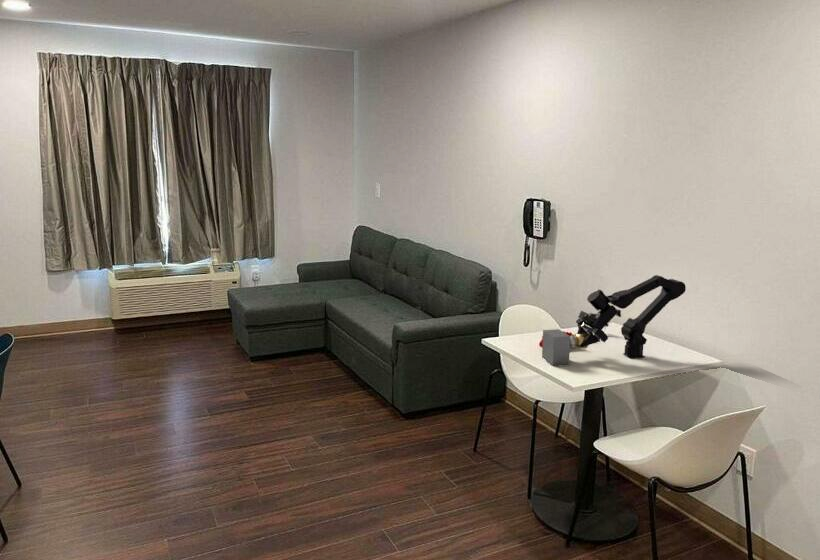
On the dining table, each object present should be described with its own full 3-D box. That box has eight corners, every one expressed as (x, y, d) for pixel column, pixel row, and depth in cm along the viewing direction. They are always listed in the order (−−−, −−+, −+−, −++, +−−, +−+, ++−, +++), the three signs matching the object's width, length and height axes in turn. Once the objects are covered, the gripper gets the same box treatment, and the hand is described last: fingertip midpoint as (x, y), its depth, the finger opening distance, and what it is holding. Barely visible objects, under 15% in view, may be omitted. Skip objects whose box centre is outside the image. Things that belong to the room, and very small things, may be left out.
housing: (557, 356, 268) (558, 329, 265) (568, 365, 257) (570, 336, 255) (542, 357, 266) (543, 330, 264) (552, 366, 256) (553, 337, 253)
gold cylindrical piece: (581, 345, 266) (582, 331, 265) (588, 350, 260) (588, 335, 259) (563, 346, 264) (564, 333, 263) (569, 351, 259) (570, 336, 258)
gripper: (581, 299, 269) (555, 326, 269) (602, 309, 251) (574, 338, 251) (597, 316, 272) (572, 343, 272) (619, 328, 254) (592, 356, 254)
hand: (577, 344), depth 262 cm, fingers closed on gold cylindrical piece, 6 cm apart
